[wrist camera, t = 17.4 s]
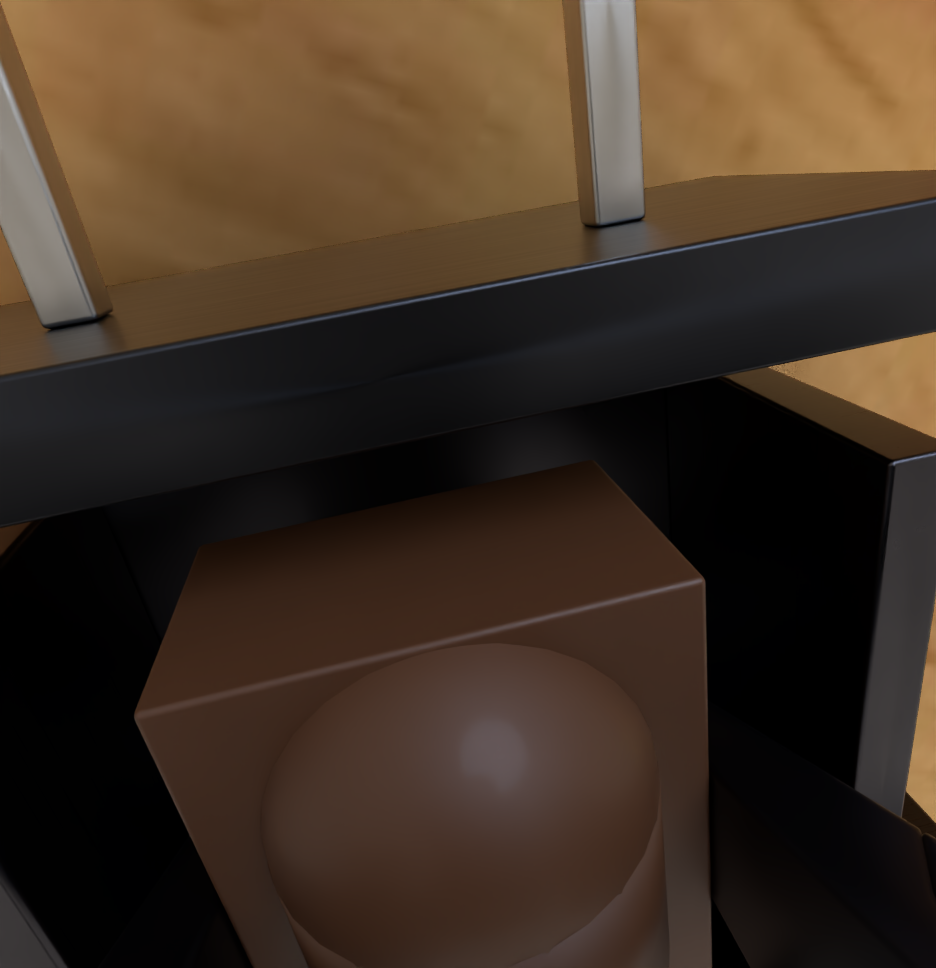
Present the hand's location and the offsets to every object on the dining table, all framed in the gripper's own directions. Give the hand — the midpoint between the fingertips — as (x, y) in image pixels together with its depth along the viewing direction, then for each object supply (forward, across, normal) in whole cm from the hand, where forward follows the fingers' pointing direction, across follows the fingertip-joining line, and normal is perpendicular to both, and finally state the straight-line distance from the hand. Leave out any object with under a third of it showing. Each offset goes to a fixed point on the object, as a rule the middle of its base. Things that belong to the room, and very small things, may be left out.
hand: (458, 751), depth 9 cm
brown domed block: (+1, 0, 0) cm, 1 cm away
